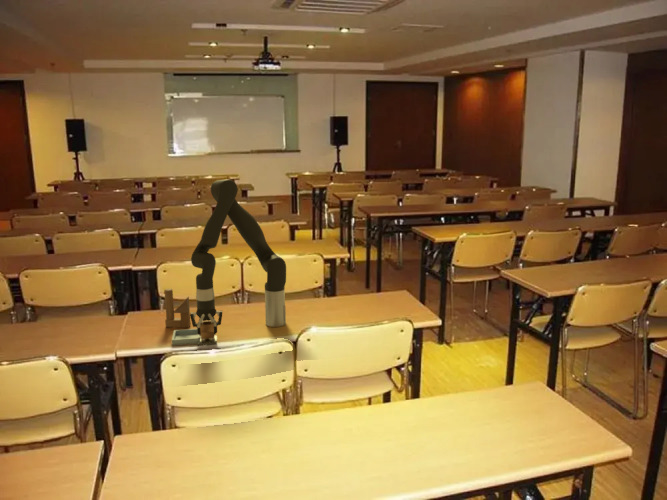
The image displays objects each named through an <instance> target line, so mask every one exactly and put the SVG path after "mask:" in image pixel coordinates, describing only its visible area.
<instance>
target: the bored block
mask: <svg viewBox="0 0 667 500" xmlns="http://www.w3.org/2000/svg"><path fill="white" fill-rule="evenodd" d="M200 332H201V339H207V338H214V324H213V323H212V322H211V320H209V321H208V320H206V321H202V323H201V324H200Z"/></svg>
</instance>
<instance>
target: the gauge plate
mask: <svg viewBox="0 0 667 500" xmlns="http://www.w3.org/2000/svg"><path fill="white" fill-rule="evenodd" d="M217 344H218V335H214V338H207V339H201V336H200V341H198V344H197V346H198V347H199V346H200V347H201V346H210V345H211V346H213V345H217Z"/></svg>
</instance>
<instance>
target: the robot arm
mask: <svg viewBox="0 0 667 500" xmlns="http://www.w3.org/2000/svg"><path fill="white" fill-rule="evenodd" d="M238 189H239V188H238V185H237V183H236V182H235V181H234V180H232V179H217V180H215V181H213V183H211V185H210V194H211V196H212V197H213V199H214V200H215V201H216V206H215V207H214V209H213V212H212V214H211V215H210V217H209V218H208V220H207V222H206V224H205V226H204V228H203V232H202V234H201V238H200V240H199V241H198V243H197V245H196V246H195V249H194V250H193V252H192V254H191V258H190V261H191V265H192V266H193V267H195V268H196V269H197V268H198V269H201V270H202V271H201V273H198V274H197V275H196V277H195V286H196V287H195V288H196V290H195V291H196V293H195V294H196V295H195V299H196V310H195V312H192V311H190V322H191V324H192V327H193V328H194V327H195V328H196V329H198V335H200V336H201V332H200V324H201V323H202V321H211V322H212V323H213V324H214V335H216V334H218V326H221V325H222V319H223V310H221V309H220V310H217V309H216V306H215V305H216V301H215V289H214V274H215V270H216V265H217V261H216V257H215V255H214V254H213V253H211V252H209V251H210V250H211V249H215V248H216V247H217V246H218V242H219V239H220V237H221V236H220V235H221V232H222V229H223V227H224V224H225V220H226V219H227V216H228V218H229V220H230V221H231V223H232V224H233V225H234V226H235V229H236V230H237V232H238V233H239V235H240V236H241V238H242V239H243V240H244V241H245V242H246V244H247V245H248V247H249V248H250V249H251V251H253V252H254V254H255V257H256V259H257V260H258V261H259V263H260V265H261V267H262V269H263V270H264V271H265V272H266V282H265V283H264V308H265V313H264V314H265V315H264V316H265V325H266V326H267V327H270V328H276V327H277V328H279V327H284V326H286V325H287V321H286V315H287V312H286V310H287V309H286V302H285V301H286V300H285V299H286V296H285V294H286V292H285V289H286V288H285V287H286V283H287V263H286V261H285V259H284V258H282V257H280V256H278V255H277V254H276V253H275V252H274V251H273V250H272V248H271V247H270V246H269V243H268V242H267V240H266V238H265V234H264V231H263V229H262V227H261V225H260V224H259V223H258V221H257V220H256V218H255V217H254V216H253V215H252V214H251V213H250V212H249V211H247V210H246V208H244V207H243V206H241V205H240V203H239V202H238V201H237V200H236V198H237V195H238ZM216 314H217V316H218V320H217V321H216V319H215V316H216ZM196 316H197V317H198V318H199V319H198V322H196V319H195V318H196Z"/></svg>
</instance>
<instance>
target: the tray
mask: <svg viewBox="0 0 667 500" xmlns="http://www.w3.org/2000/svg"><path fill="white" fill-rule="evenodd" d="M198 341H200V335H198V329H197V328H187V329H185V328H183V329H174V330H173V333H172V337H171V346H183V345H184V346H185V345H186V346H187V345H198Z"/></svg>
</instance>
